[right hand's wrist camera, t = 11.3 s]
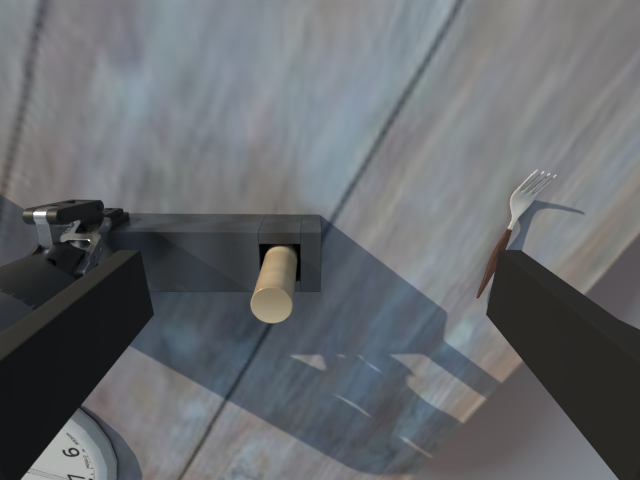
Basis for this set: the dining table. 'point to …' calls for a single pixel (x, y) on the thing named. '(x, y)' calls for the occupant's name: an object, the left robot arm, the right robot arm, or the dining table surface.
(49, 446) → the wall clock
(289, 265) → the peg
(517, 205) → the fork
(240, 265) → the peg board
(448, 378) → the dining table surface
